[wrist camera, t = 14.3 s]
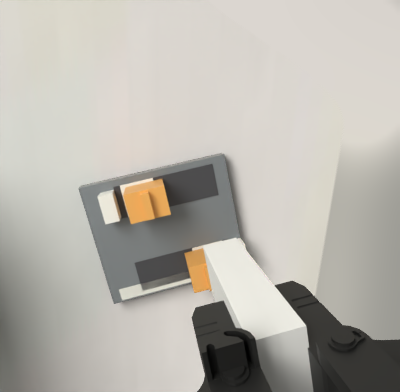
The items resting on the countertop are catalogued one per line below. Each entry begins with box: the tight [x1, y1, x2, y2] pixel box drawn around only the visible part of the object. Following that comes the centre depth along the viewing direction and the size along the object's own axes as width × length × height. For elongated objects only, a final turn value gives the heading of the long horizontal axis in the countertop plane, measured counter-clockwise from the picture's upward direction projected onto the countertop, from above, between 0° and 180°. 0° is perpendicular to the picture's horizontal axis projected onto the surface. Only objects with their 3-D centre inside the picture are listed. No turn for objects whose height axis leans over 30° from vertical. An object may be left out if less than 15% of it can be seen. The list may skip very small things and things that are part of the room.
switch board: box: [79, 153, 246, 304], centre depth 38 cm, size 16×14×4 cm
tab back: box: [184, 248, 212, 293], centre depth 37 cm, size 4×3×5 cm
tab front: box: [123, 179, 171, 224], centre depth 35 cm, size 4×3×5 cm
